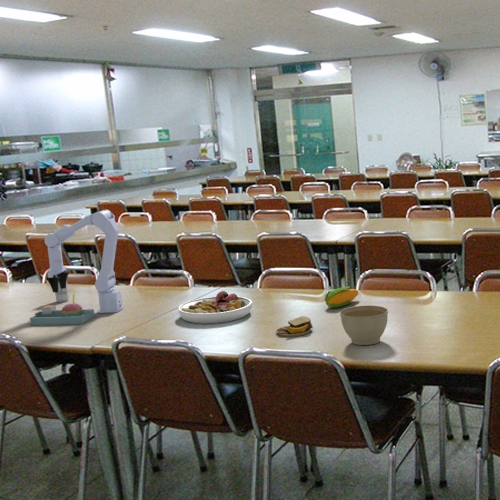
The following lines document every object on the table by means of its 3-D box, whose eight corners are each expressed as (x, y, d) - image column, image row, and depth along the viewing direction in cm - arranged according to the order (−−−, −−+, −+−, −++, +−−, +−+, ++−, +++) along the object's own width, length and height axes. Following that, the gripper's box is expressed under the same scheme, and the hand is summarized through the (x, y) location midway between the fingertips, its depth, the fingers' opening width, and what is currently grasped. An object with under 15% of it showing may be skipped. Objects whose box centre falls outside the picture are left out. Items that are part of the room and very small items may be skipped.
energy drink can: (70, 299, 373) (67, 268, 370) (66, 302, 367) (63, 271, 364) (58, 300, 373) (55, 269, 371) (54, 302, 367) (50, 271, 365)
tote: (94, 315, 334) (93, 307, 334) (82, 323, 322) (81, 315, 321) (45, 317, 339) (44, 308, 339) (30, 325, 327) (29, 316, 326)
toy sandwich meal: (272, 331, 289) (271, 318, 288) (307, 326, 292) (306, 314, 291) (281, 339, 277) (280, 326, 276) (317, 334, 280) (316, 321, 279)
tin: (57, 319, 334) (55, 304, 333) (52, 322, 329) (51, 307, 328) (47, 319, 334) (46, 305, 333) (43, 322, 330) (41, 307, 329)
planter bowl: (384, 333, 274) (382, 303, 272) (394, 346, 258) (392, 314, 256) (338, 337, 273) (336, 307, 272) (345, 350, 257) (343, 318, 256)
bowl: (244, 325, 301) (242, 305, 300) (169, 327, 307) (168, 307, 306) (258, 306, 330) (257, 288, 329) (190, 308, 336) (189, 290, 335)
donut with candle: (86, 317, 333) (83, 290, 331) (77, 322, 324) (74, 294, 323) (68, 317, 335) (65, 290, 333) (58, 323, 327) (55, 295, 325)
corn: (319, 290, 315) (349, 280, 328) (319, 308, 316) (349, 298, 330) (333, 293, 309) (364, 283, 323) (333, 312, 311) (364, 301, 325)
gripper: (54, 257, 351) (58, 287, 353) (39, 263, 337) (43, 294, 339) (69, 256, 349) (72, 286, 351) (55, 263, 335) (58, 293, 337)
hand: (59, 290), depth 345 cm, fingers open, 7 cm apart
